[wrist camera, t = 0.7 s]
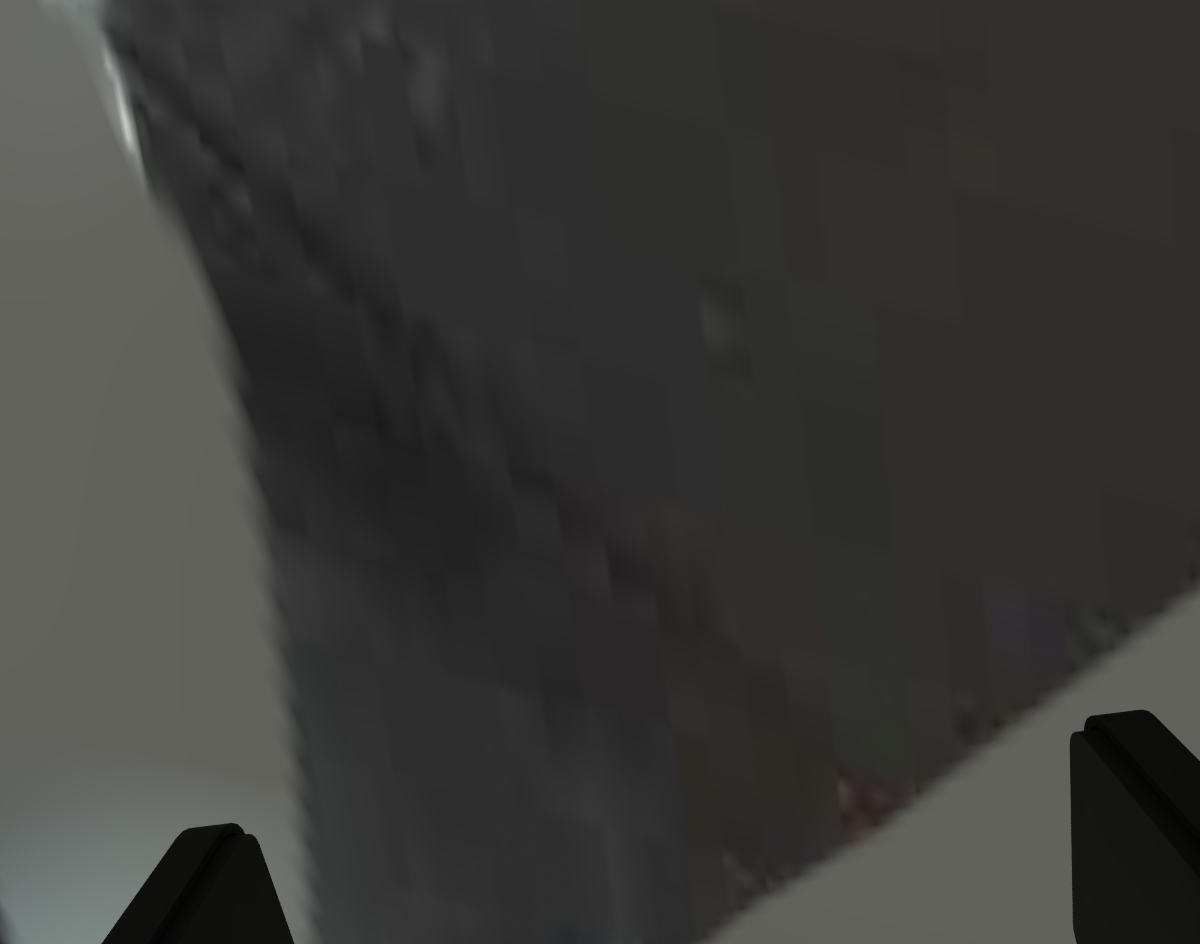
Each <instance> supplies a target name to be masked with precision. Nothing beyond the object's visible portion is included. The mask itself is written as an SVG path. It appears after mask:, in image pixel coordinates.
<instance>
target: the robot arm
mask: <svg viewBox="0 0 1200 944" xmlns="http://www.w3.org/2000/svg"><path fill="white" fill-rule="evenodd" d="M1070 779H1071V780H1070V781H1071V782H1070V784H1071V836H1072V837H1071V838H1072V840H1071V841H1072V896H1073V897H1072V899H1073V928H1074V934H1075V938H1076V942H1077V944H1200V761H1199V760H1198V759H1197V758H1196V757H1195V756H1194V755H1193V754H1192V753H1191V752H1190V751H1189V750H1188V749H1187V748H1186V747H1185V746H1184V745H1183V744H1182V743H1181V742H1180V741H1179V740H1178V739H1177V738H1176V737H1175V736H1174V735H1173V734H1172V733H1171V732H1170V731H1169V730H1168V729H1167V728H1166V727H1165V726H1164V725H1163V724H1162V723H1161V722H1160V721H1159V720H1158V719H1157V718H1156V717H1155V716H1154V715H1153V714H1152V713H1150V712H1149V711H1146V710H1134V711H1127V712H1119V713H1111V714H1103V715H1094V716H1090V717H1089V718H1087V720H1086V722H1085V726H1084V731H1079V732H1074V733H1073V734H1072V735H1071V738H1070ZM102 944H294V942H293V939H292V936H291V933H290V930H289V927H288V924H287V922H286V919H285V916H284V913H283V911H282V907H281V905H280V902H279V899H278V896H277V893H276V890H275V888H274V885H273V882H272V879H271V876H270V873H269V871H268V868H267V865H266V862H265V859H264V856H263V854H262V851H261V848H260V845H259V843H258V841H257V839H256V837H254V836H253V835H252V834H245V833H244V831H243V829H242V828H241V827H240V826H239V825H238V824H234V823H229V824H220V825H212V826H205V827H196V828H189V829H187V830H184V831H183V832H182V833H181V834H180V835H179V836H178V837H177V838H176V839H175V841H174V842H173V844H172V845H171V846H170V848H169V849H168V851H167V852H166V854H165V855H164V856H163V858H162V859H161V861H160V862H159V863H158V865H157V866H156V868H155V869H154V871H153V872H152V873H151V875H150V876H149V878H148V879H147V881H146V882H145V883H144V885H143V886H142V887H141V889H140V890H139V892H138V893H137V894H136V896H135V898H134V899H133V900H132V902H131V903H130V904H129V906H128V907H127V909H126V910H125V911H124V913H123V914H122V916H121V917H120V918H119V920H118V922H117V923H116V924H115V926H114V927H113V929H112V930H111V931H110V933H109V934H108V935H107V937H106V938H105V940H104V941H103V942H102Z"/></svg>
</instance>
